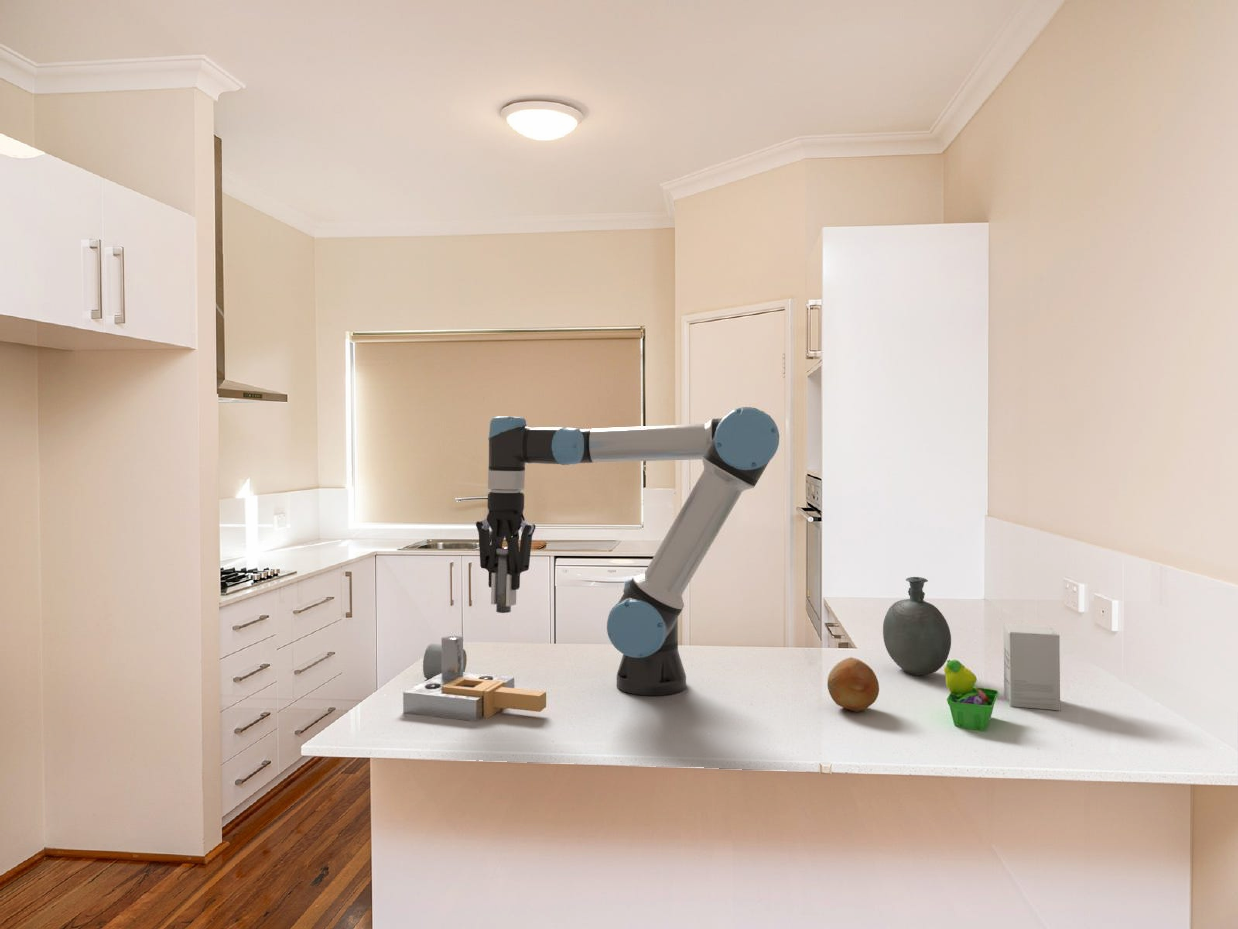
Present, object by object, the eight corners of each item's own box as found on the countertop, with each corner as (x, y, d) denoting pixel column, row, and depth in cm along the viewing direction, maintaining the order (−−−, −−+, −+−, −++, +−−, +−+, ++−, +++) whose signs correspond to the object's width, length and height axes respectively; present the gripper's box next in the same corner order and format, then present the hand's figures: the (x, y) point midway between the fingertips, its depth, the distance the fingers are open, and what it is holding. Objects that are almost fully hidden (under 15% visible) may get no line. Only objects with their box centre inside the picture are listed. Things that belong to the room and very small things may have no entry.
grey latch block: (514, 696, 161) (514, 638, 161) (476, 721, 145) (476, 657, 145) (446, 689, 166) (446, 633, 166) (403, 712, 151) (403, 651, 150)
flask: (909, 685, 168) (909, 584, 168) (875, 664, 185) (876, 572, 185) (960, 683, 169) (960, 583, 169) (922, 663, 186) (922, 571, 186)
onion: (816, 705, 154) (816, 655, 154) (856, 699, 158) (856, 650, 158) (848, 721, 145) (848, 668, 145) (890, 714, 149) (890, 662, 149)
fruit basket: (991, 735, 138) (992, 672, 138) (938, 726, 142) (938, 665, 142) (999, 717, 147) (999, 657, 147) (949, 709, 152) (949, 651, 152)
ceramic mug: (458, 683, 170) (458, 648, 170) (422, 682, 171) (422, 647, 171) (472, 671, 180) (472, 638, 180) (438, 670, 181) (438, 637, 181)
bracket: (550, 711, 151) (550, 686, 151) (535, 723, 144) (535, 696, 144) (460, 701, 157) (459, 677, 157) (441, 712, 151) (441, 686, 151)
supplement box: (1051, 698, 159) (1051, 625, 159) (1061, 711, 150) (1061, 634, 150) (1002, 693, 162) (1002, 622, 162) (1009, 706, 153) (1009, 631, 153)
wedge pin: (511, 609, 163) (512, 546, 163) (513, 613, 159) (515, 549, 159) (493, 609, 162) (494, 547, 162) (495, 613, 158) (496, 549, 158)
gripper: (548, 492, 160) (546, 605, 161) (484, 489, 167) (481, 597, 167) (530, 493, 153) (527, 611, 154) (463, 490, 160) (460, 603, 160)
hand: (503, 604), depth 160 cm, fingers closed on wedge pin, 3 cm apart
